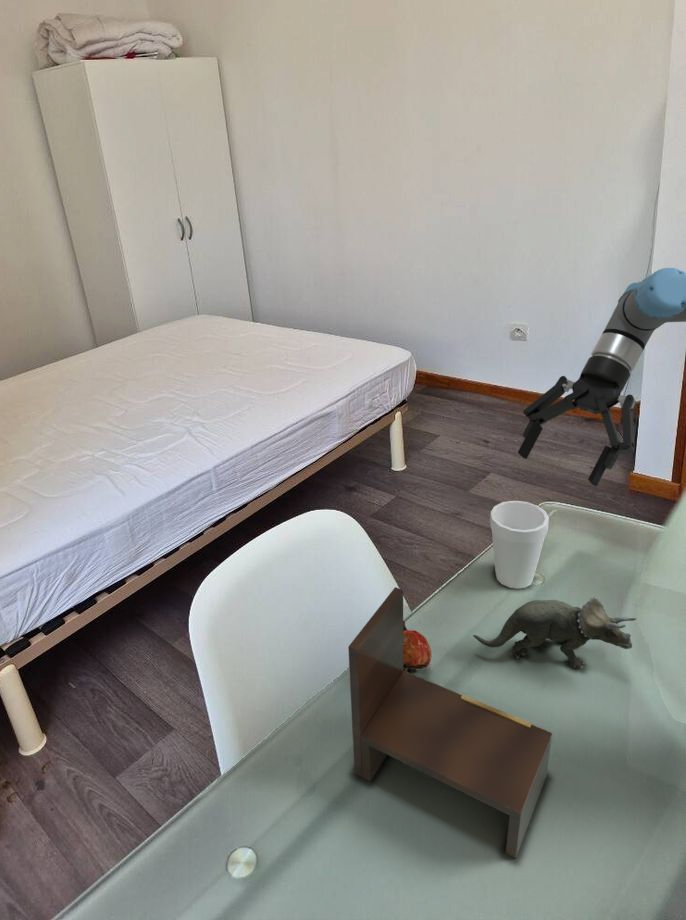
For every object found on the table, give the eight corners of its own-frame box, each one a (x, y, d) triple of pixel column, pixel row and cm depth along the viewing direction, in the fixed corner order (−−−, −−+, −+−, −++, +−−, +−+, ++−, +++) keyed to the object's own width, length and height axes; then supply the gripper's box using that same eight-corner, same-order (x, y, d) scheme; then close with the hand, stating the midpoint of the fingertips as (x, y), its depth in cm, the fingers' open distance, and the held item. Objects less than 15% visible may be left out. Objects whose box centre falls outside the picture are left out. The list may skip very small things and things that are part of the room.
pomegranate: (434, 694, 102) (435, 626, 107) (427, 689, 96) (428, 617, 101) (385, 691, 105) (387, 624, 109) (375, 685, 98) (378, 615, 103)
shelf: (546, 776, 87) (563, 646, 77) (515, 859, 78) (531, 723, 69) (396, 708, 98) (395, 586, 88) (354, 773, 89) (348, 646, 79)
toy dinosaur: (471, 659, 105) (474, 602, 100) (476, 621, 112) (479, 566, 108) (626, 687, 99) (638, 627, 94) (621, 645, 106) (632, 587, 101)
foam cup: (476, 568, 125) (480, 508, 119) (519, 555, 127) (525, 495, 122) (508, 600, 116) (513, 537, 111) (553, 585, 119) (560, 523, 113)
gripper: (687, 392, 116) (630, 502, 114) (554, 357, 133) (503, 453, 131) (678, 372, 111) (619, 488, 109) (541, 339, 128) (487, 438, 126)
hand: (555, 469), depth 120 cm, fingers open, 13 cm apart
